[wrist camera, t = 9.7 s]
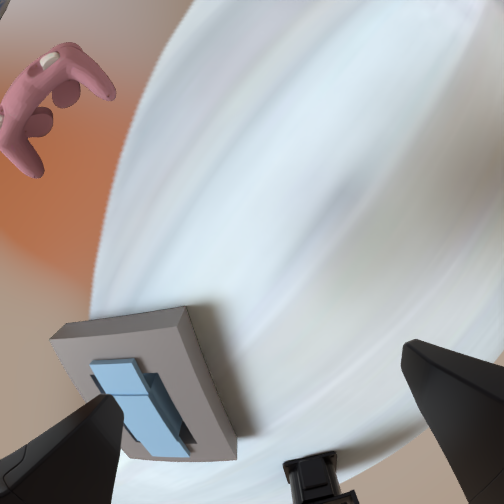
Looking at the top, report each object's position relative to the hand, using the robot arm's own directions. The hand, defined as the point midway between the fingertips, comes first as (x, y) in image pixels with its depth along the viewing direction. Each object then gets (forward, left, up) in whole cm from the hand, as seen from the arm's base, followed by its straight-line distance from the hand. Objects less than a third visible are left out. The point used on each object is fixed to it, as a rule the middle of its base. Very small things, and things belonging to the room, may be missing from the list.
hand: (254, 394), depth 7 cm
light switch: (-10, +11, -12) cm, 19 cm away
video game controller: (+15, +12, -12) cm, 22 cm away
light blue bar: (-10, +11, -12) cm, 19 cm away
